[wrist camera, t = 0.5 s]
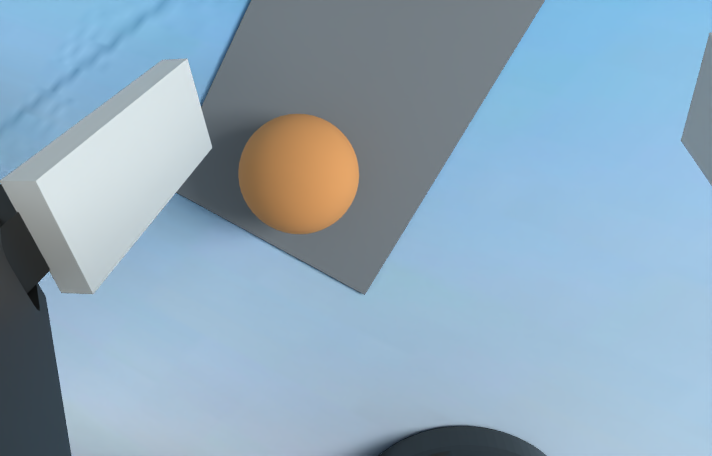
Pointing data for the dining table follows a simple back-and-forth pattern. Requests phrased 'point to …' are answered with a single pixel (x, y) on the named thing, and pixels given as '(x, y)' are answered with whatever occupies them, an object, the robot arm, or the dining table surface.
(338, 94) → the mat
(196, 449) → the dining table surface
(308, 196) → the ball
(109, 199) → the robot arm
